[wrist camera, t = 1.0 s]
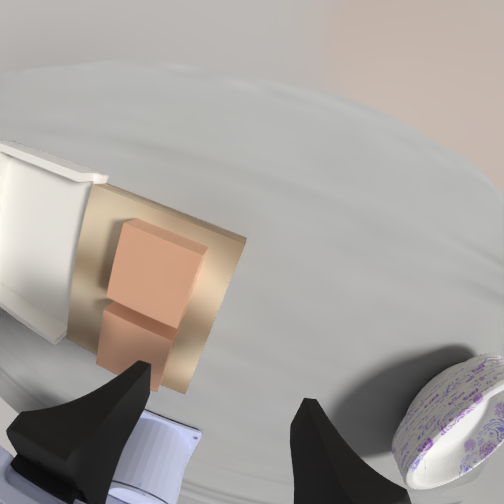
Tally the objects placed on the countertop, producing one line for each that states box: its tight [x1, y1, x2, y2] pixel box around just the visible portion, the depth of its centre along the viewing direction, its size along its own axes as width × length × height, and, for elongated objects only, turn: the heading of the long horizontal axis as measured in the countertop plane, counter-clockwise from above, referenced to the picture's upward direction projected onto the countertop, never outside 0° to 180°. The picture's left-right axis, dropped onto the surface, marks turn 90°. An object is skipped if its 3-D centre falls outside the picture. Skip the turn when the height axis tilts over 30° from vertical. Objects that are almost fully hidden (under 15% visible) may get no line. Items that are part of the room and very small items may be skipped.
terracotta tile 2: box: [106, 218, 209, 329], centre depth 17 cm, size 5×5×2 cm
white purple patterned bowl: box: [392, 353, 504, 490], centre depth 19 cm, size 15×15×8 cm
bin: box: [0, 141, 109, 345], centre depth 19 cm, size 14×12×3 cm
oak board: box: [67, 183, 246, 394], centre depth 20 cm, size 13×11×2 cm
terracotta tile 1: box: [96, 301, 180, 392], centre depth 19 cm, size 5×5×2 cm
